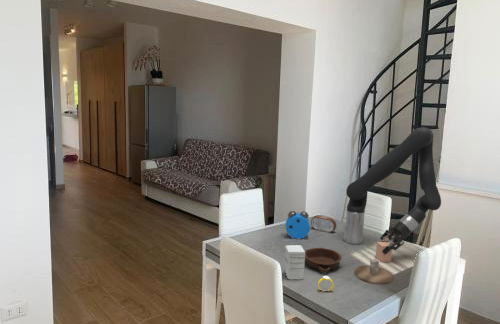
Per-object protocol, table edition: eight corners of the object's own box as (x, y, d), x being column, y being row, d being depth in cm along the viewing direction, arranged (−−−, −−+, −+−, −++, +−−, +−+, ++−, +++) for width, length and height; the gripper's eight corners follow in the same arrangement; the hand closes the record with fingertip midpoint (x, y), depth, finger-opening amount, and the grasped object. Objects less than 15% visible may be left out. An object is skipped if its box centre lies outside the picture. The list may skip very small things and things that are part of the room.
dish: (303, 274, 166) (304, 263, 165) (302, 254, 188) (302, 244, 187) (344, 277, 164) (344, 266, 163) (338, 256, 186) (338, 247, 185)
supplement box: (283, 272, 167) (285, 245, 165) (300, 272, 168) (301, 244, 165) (286, 280, 160) (288, 251, 158) (304, 279, 160) (305, 251, 158)
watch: (331, 290, 153) (333, 276, 152) (333, 293, 150) (335, 279, 149) (316, 288, 153) (318, 274, 152) (317, 292, 150) (319, 278, 149)
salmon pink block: (380, 262, 180) (382, 246, 179) (375, 257, 185) (376, 242, 184) (391, 261, 181) (392, 245, 179) (385, 257, 186) (386, 241, 185)
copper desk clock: (336, 232, 219) (337, 218, 218) (334, 234, 217) (335, 220, 215) (311, 227, 227) (312, 214, 226) (309, 228, 225) (310, 215, 223)
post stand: (350, 277, 163) (351, 262, 162) (360, 264, 177) (361, 250, 176) (388, 287, 155) (390, 271, 154) (396, 273, 169) (397, 258, 168)
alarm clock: (308, 236, 213) (309, 210, 210) (309, 240, 206) (310, 213, 204) (285, 234, 213) (286, 209, 211) (285, 238, 207) (286, 212, 205)
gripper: (393, 216, 188) (368, 240, 188) (409, 225, 174) (383, 251, 174) (402, 226, 190) (377, 249, 190) (419, 236, 176) (392, 262, 176)
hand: (380, 250), depth 182 cm, fingers closed on salmon pink block, 5 cm apart
